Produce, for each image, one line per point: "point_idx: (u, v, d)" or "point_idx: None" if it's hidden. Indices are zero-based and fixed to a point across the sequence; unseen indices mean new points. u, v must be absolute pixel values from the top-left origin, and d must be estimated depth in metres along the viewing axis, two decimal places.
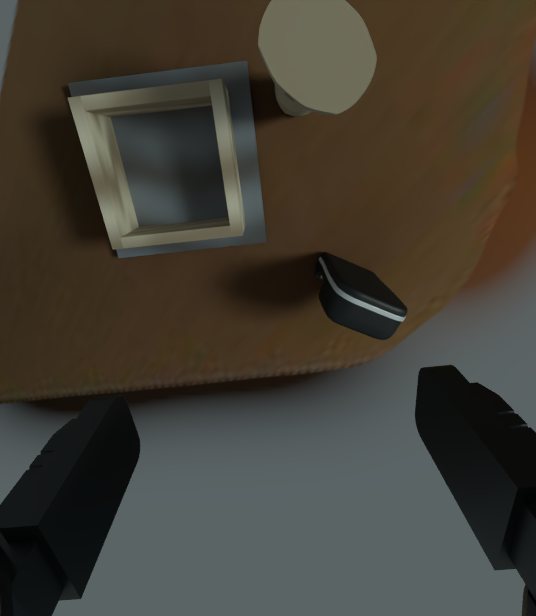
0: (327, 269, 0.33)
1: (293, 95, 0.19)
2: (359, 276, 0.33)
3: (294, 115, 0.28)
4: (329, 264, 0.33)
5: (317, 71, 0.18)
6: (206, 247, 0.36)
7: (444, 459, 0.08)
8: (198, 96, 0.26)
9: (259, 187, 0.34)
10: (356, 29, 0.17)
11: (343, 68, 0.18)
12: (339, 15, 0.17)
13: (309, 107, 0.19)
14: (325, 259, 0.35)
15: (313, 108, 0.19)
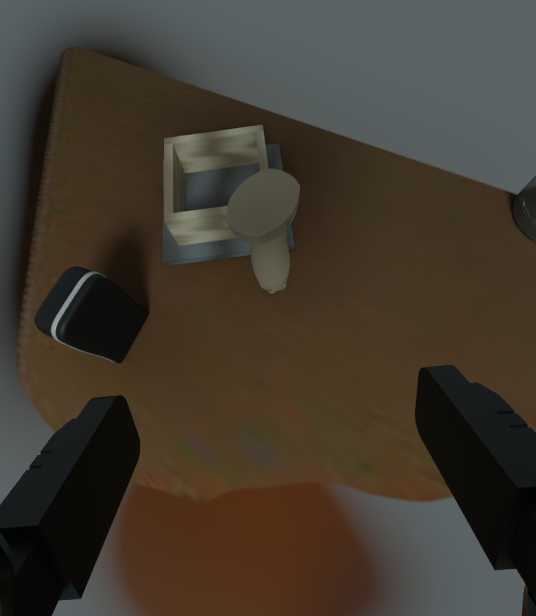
0: None
1: (237, 189, 0.27)
2: (113, 320, 0.34)
3: None
4: None
5: (251, 201, 0.26)
6: (163, 217, 0.43)
7: (444, 459, 0.08)
8: None
9: (207, 255, 0.41)
10: (274, 222, 0.25)
11: (252, 216, 0.26)
12: (282, 211, 0.26)
13: (230, 199, 0.26)
14: None
15: (229, 201, 0.26)
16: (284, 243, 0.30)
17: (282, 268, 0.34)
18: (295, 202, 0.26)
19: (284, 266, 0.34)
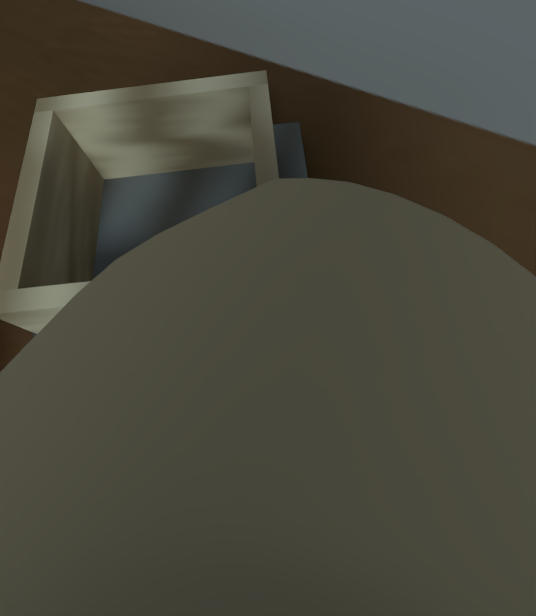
0: None
1: (28, 353, 0.03)
2: None
3: None
4: None
5: (124, 514, 0.03)
6: None
7: None
8: None
9: None
10: None
11: None
12: None
13: None
14: None
15: None
16: None
17: None
18: None
19: None
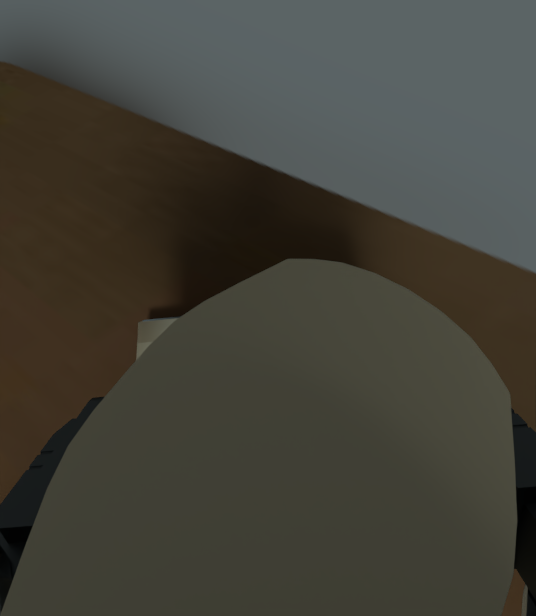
0: None
1: (117, 390, 0.04)
2: None
3: None
4: None
5: (192, 499, 0.04)
6: None
7: None
8: None
9: None
10: None
11: None
12: None
13: (60, 466, 0.04)
14: None
15: (51, 486, 0.04)
16: None
17: None
18: (505, 538, 0.04)
19: None
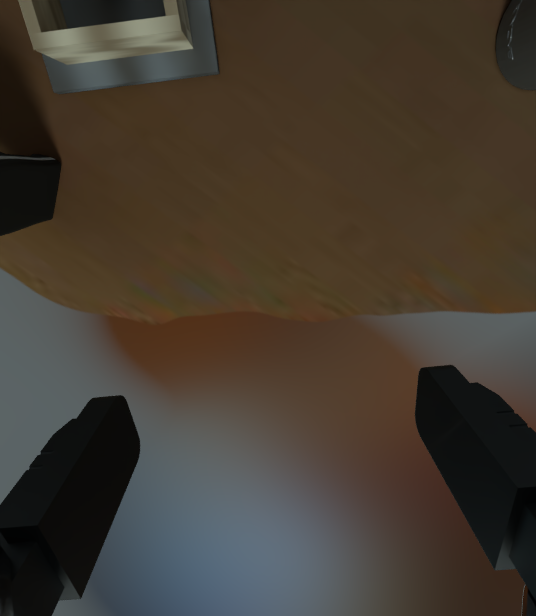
0: (25, 159, 0.31)
1: None
2: (26, 194, 0.32)
3: None
4: (33, 162, 0.32)
5: None
6: None
7: (444, 459, 0.08)
8: (163, 0, 0.26)
9: (109, 83, 0.32)
10: None
11: None
12: None
13: None
14: (46, 161, 0.34)
15: None
16: None
17: None
18: None
19: None
